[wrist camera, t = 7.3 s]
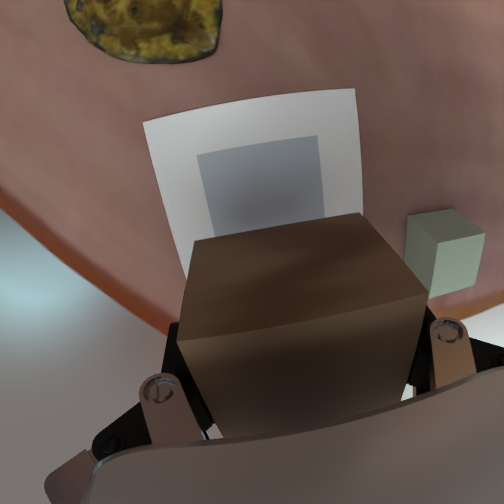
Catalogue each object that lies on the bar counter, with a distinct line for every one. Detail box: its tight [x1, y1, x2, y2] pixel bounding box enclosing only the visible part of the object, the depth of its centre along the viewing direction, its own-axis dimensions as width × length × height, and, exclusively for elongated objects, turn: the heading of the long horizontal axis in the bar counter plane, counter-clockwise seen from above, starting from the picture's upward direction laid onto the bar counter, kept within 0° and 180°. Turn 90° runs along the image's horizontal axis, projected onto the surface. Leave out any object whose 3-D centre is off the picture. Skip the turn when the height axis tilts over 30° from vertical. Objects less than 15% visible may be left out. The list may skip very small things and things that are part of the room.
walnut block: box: [176, 212, 429, 438], centre depth 10 cm, size 6×6×5 cm
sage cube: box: [404, 208, 486, 299], centre depth 23 cm, size 5×5×5 cm
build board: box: [143, 88, 363, 280], centre depth 22 cm, size 14×14×1 cm
